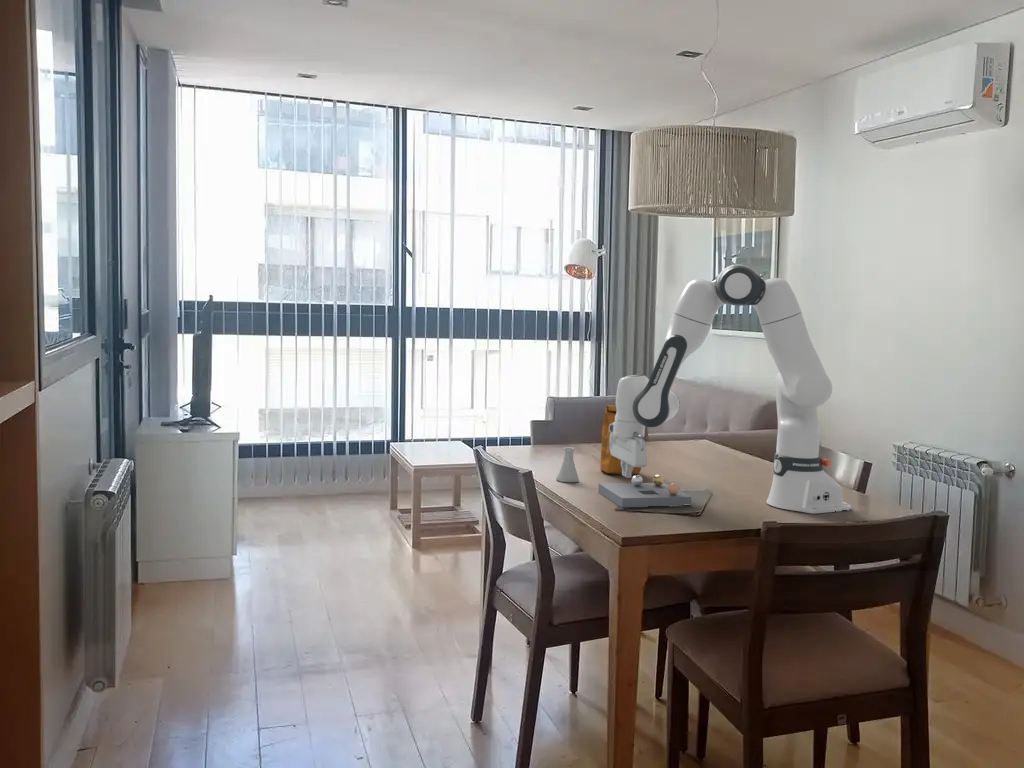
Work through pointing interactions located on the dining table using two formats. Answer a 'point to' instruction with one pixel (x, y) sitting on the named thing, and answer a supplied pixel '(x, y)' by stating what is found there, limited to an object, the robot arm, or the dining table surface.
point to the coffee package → (607, 460)
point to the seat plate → (642, 495)
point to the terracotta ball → (673, 488)
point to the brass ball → (658, 480)
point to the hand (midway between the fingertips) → (626, 476)
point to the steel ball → (637, 480)
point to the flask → (568, 467)
